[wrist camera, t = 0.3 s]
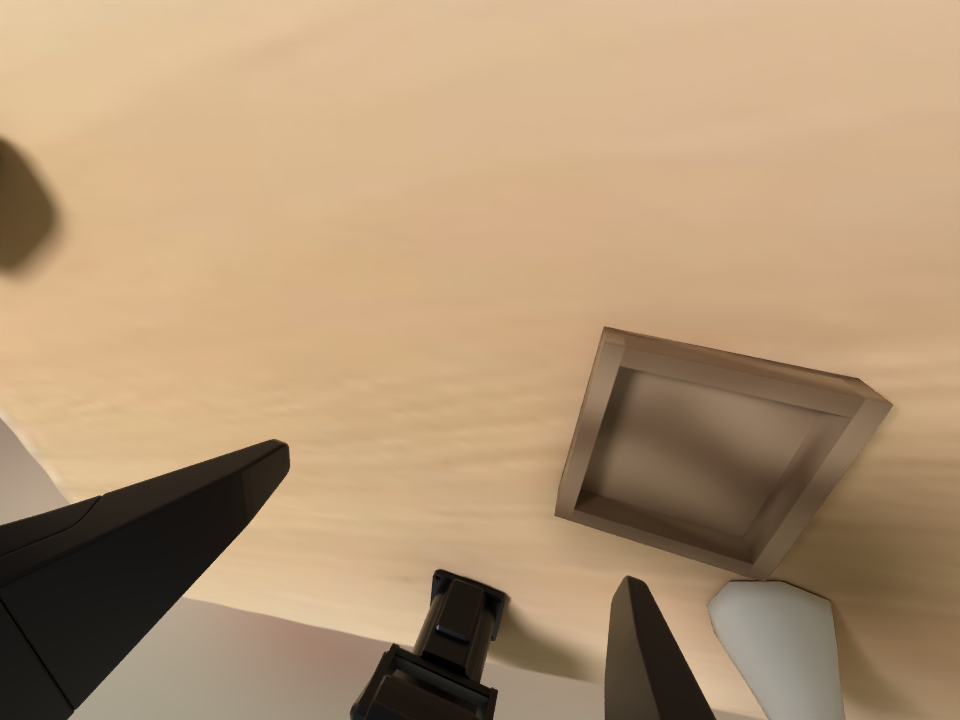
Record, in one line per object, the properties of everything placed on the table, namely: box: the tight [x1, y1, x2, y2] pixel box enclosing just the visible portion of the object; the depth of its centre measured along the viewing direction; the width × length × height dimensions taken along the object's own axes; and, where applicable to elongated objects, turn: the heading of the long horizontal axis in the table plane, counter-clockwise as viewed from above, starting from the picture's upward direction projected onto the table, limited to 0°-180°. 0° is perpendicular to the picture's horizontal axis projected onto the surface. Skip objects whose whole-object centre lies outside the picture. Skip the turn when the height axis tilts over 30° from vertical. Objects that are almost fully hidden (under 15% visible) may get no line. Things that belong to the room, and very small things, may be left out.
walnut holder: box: [554, 327, 893, 582], centre depth 21 cm, size 12×12×2 cm
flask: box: [707, 581, 845, 720], centre depth 21 cm, size 7×7×10 cm
